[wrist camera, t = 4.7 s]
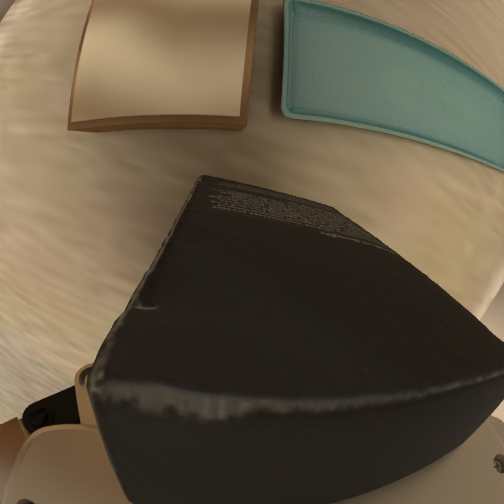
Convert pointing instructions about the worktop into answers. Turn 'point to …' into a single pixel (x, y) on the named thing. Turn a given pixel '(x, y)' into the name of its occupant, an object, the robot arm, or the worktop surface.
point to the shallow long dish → (387, 82)
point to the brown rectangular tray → (164, 65)
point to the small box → (284, 360)
